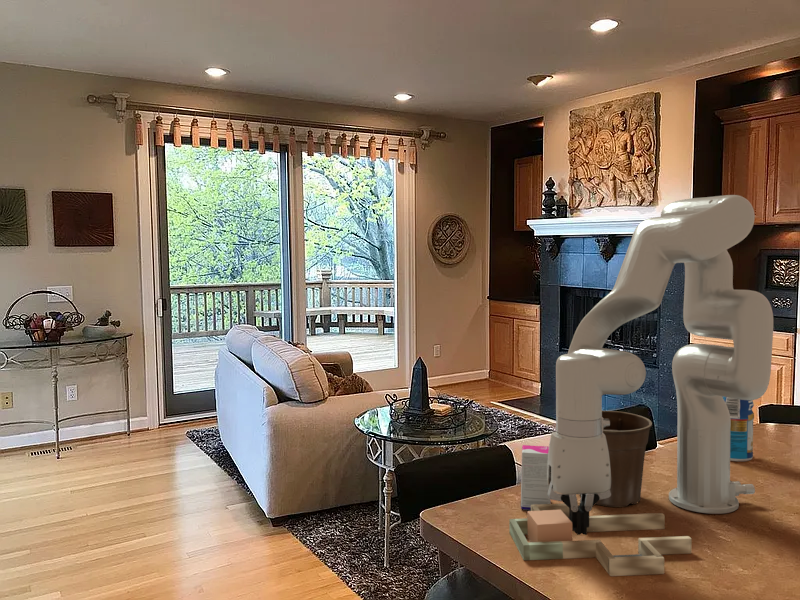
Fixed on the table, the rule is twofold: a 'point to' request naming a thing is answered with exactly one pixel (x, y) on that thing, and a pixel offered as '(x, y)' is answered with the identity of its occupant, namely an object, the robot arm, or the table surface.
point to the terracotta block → (548, 526)
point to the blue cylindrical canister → (740, 428)
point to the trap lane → (613, 564)
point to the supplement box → (534, 476)
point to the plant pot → (625, 456)
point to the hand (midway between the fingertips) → (579, 531)
